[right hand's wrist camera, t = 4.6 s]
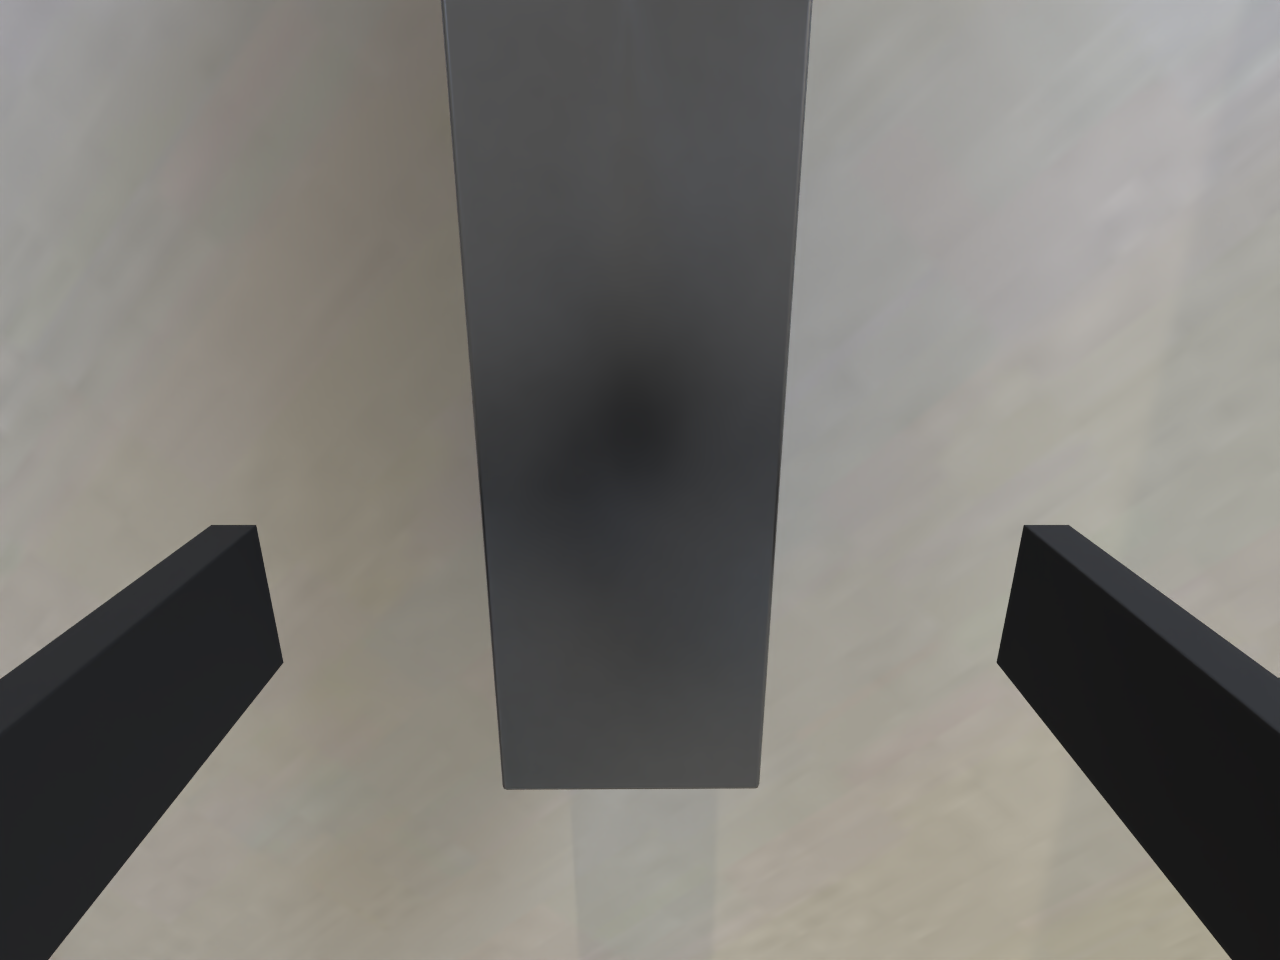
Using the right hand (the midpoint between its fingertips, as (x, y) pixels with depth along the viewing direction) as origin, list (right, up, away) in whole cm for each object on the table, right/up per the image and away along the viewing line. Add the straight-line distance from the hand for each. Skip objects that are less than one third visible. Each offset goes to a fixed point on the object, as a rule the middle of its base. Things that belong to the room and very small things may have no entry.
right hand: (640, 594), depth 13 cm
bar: (0, +11, +5) cm, 12 cm away
